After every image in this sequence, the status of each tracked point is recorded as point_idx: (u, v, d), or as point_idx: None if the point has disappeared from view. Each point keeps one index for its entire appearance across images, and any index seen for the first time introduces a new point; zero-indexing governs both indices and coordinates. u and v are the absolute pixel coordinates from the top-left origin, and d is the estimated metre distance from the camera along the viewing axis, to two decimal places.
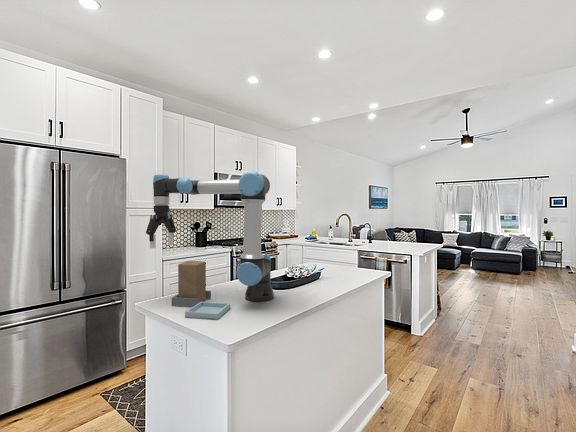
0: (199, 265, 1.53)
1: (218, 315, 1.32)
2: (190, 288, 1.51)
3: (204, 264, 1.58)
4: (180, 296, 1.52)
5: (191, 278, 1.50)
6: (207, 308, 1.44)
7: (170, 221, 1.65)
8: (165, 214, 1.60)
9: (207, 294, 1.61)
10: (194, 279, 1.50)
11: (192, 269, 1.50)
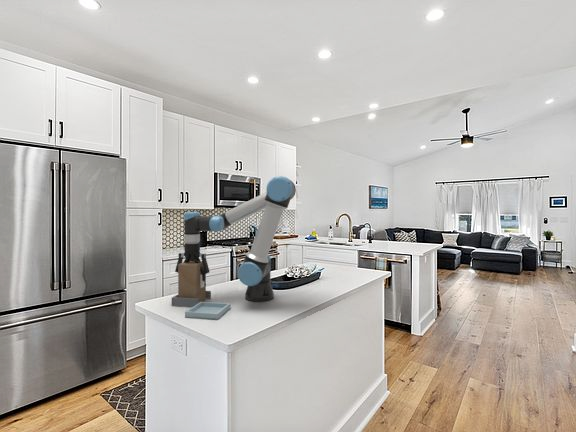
0: (199, 265, 1.53)
1: (218, 315, 1.32)
2: (190, 288, 1.51)
3: None
4: (180, 296, 1.52)
5: (191, 278, 1.50)
6: (207, 308, 1.44)
7: None
8: (194, 252, 1.54)
9: (207, 294, 1.61)
10: (194, 279, 1.50)
11: (192, 269, 1.50)
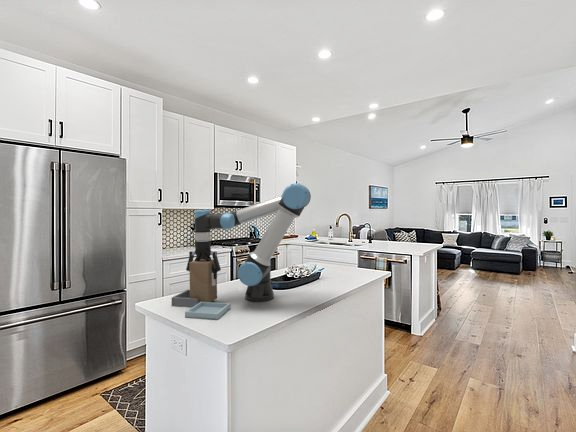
0: (210, 263, 1.52)
1: (218, 315, 1.32)
2: (202, 286, 1.50)
3: None
4: (192, 294, 1.51)
5: (203, 276, 1.49)
6: (207, 308, 1.44)
7: None
8: (205, 250, 1.53)
9: None
10: (206, 277, 1.49)
11: (204, 267, 1.49)
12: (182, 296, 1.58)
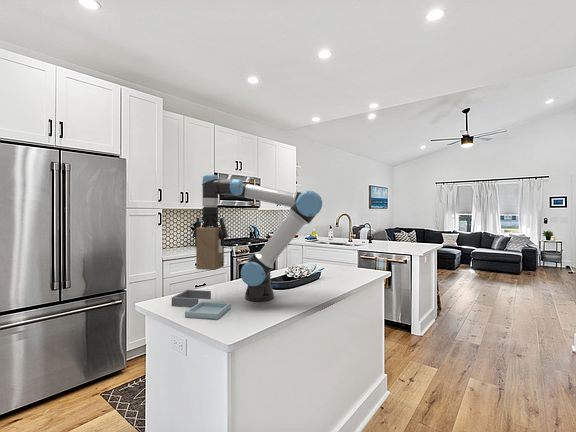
0: (217, 229, 1.49)
1: (218, 315, 1.32)
2: (209, 252, 1.47)
3: None
4: (198, 261, 1.48)
5: (210, 242, 1.47)
6: (207, 308, 1.44)
7: None
8: (212, 216, 1.50)
9: (207, 294, 1.61)
10: (213, 242, 1.46)
11: (211, 232, 1.46)
12: (182, 296, 1.58)
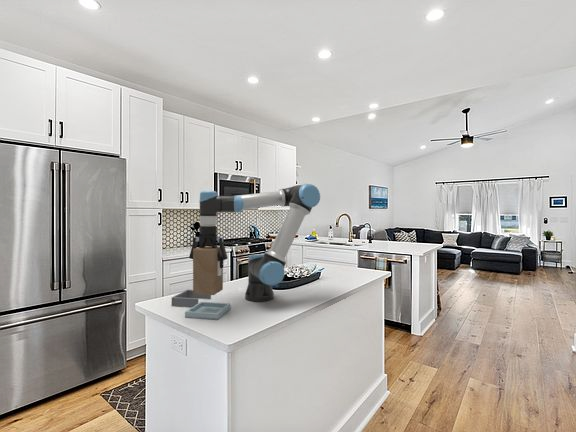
0: (216, 250, 1.36)
1: (218, 315, 1.32)
2: (207, 276, 1.34)
3: None
4: (195, 285, 1.36)
5: (208, 265, 1.34)
6: (207, 308, 1.44)
7: None
8: (211, 236, 1.38)
9: None
10: (211, 265, 1.34)
11: (209, 254, 1.34)
12: (182, 296, 1.58)
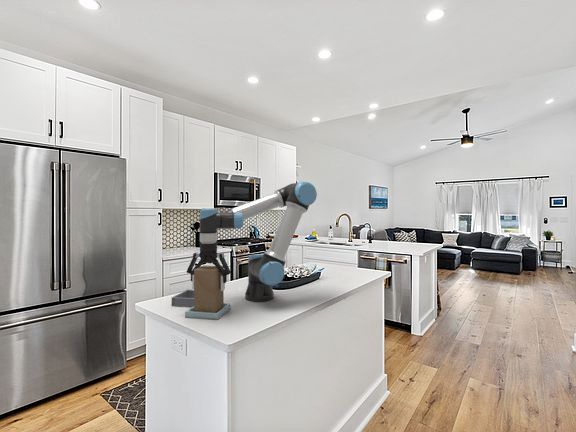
0: (217, 270, 1.37)
1: (218, 315, 1.32)
2: (208, 297, 1.35)
3: None
4: (196, 305, 1.36)
5: (209, 285, 1.34)
6: None
7: None
8: (210, 253, 1.38)
9: None
10: (212, 286, 1.34)
11: (210, 275, 1.34)
12: (182, 296, 1.58)
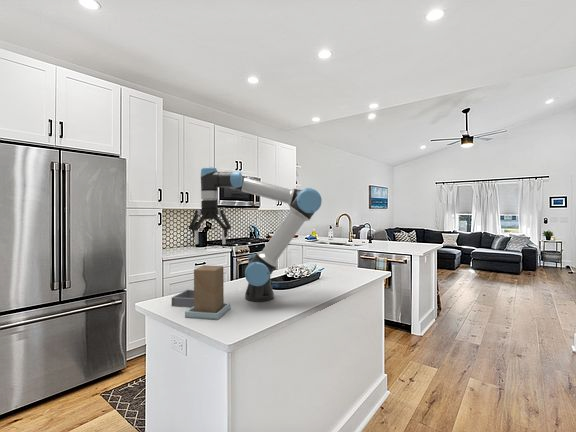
0: (217, 270, 1.37)
1: (218, 315, 1.32)
2: (208, 297, 1.35)
3: (222, 269, 1.42)
4: (196, 305, 1.36)
5: (209, 285, 1.34)
6: None
7: None
8: (211, 210, 1.48)
9: None
10: (212, 286, 1.34)
11: (210, 275, 1.34)
12: (182, 296, 1.58)
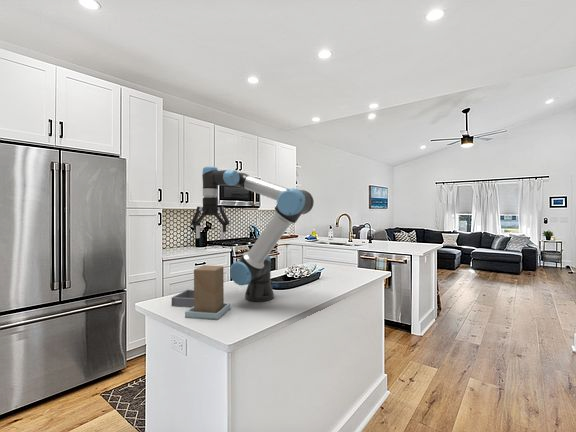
0: (217, 270, 1.37)
1: (218, 315, 1.32)
2: (208, 297, 1.35)
3: (222, 269, 1.42)
4: (196, 305, 1.36)
5: (209, 285, 1.34)
6: None
7: None
8: (212, 206, 1.58)
9: None
10: (212, 286, 1.34)
11: (210, 275, 1.34)
12: (182, 296, 1.58)
